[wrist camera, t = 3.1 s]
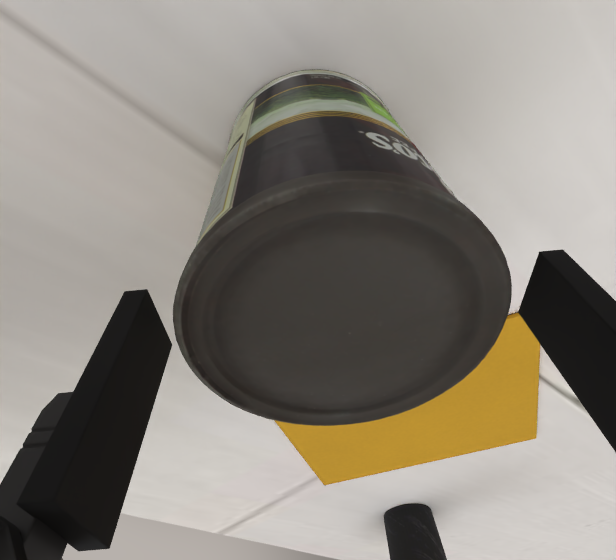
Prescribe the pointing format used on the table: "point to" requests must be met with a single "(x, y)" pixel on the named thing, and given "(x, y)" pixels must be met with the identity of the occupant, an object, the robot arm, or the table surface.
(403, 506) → the travel mug
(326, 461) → the cloth
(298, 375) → the coffee can
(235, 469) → the table surface
